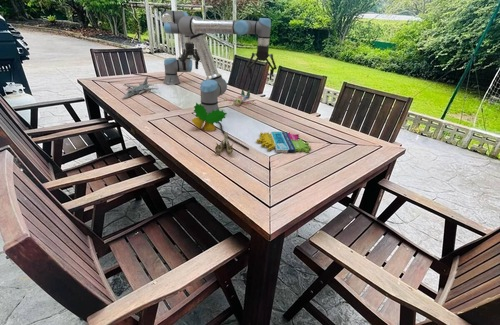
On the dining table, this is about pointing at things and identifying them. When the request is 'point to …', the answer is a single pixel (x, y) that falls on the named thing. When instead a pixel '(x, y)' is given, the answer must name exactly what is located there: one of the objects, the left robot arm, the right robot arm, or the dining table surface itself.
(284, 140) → the packaged colorful gloves
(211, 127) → the ornament
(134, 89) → the airplane
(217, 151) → the jawbone
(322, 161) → the dining table surface
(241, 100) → the toy
